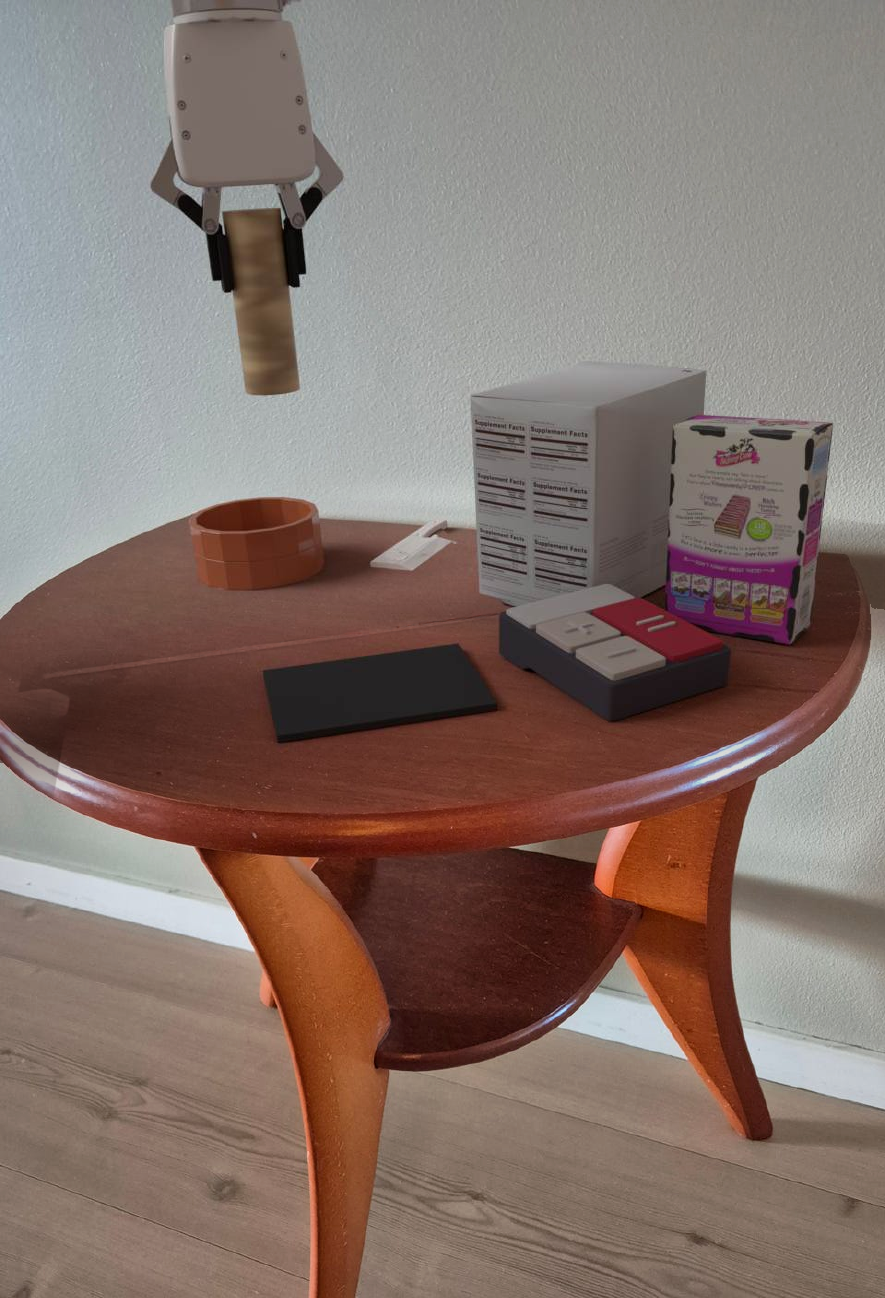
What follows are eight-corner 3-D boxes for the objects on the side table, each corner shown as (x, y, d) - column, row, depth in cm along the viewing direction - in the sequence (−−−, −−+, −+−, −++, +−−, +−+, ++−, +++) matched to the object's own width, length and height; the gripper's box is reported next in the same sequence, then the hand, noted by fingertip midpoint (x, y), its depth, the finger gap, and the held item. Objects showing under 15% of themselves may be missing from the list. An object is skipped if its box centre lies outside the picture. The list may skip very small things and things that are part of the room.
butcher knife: (475, 530, 117) (475, 520, 117) (415, 575, 106) (414, 564, 105) (433, 526, 119) (432, 516, 119) (369, 570, 108) (368, 559, 107)
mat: (277, 743, 76) (276, 735, 76) (263, 676, 86) (262, 669, 86) (497, 710, 79) (497, 702, 79) (458, 649, 89) (458, 642, 89)
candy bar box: (812, 626, 89) (837, 420, 81) (791, 647, 86) (815, 434, 78) (685, 605, 95) (696, 410, 87) (660, 624, 92) (670, 423, 83)
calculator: (612, 676, 74) (496, 603, 85) (609, 731, 76) (496, 653, 88) (735, 639, 78) (609, 574, 90) (728, 692, 81) (607, 623, 92)
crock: (201, 601, 103) (190, 539, 100) (197, 562, 113) (187, 505, 110) (331, 585, 105) (325, 523, 102) (315, 548, 115) (309, 491, 112)
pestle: (248, 397, 86) (224, 212, 80) (243, 388, 90) (219, 210, 83) (303, 392, 87) (283, 208, 80) (296, 383, 91) (277, 207, 84)
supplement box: (582, 548, 110) (583, 359, 101) (698, 570, 103) (711, 368, 94) (472, 598, 99) (464, 391, 91) (593, 627, 92) (597, 404, 83)
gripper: (337, 5, 80) (358, 277, 89) (102, 11, 77) (149, 293, 86) (355, -11, 74) (376, 284, 83) (100, -4, 71) (151, 301, 80)
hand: (260, 285), depth 84 cm, fingers closed on pestle, 4 cm apart
